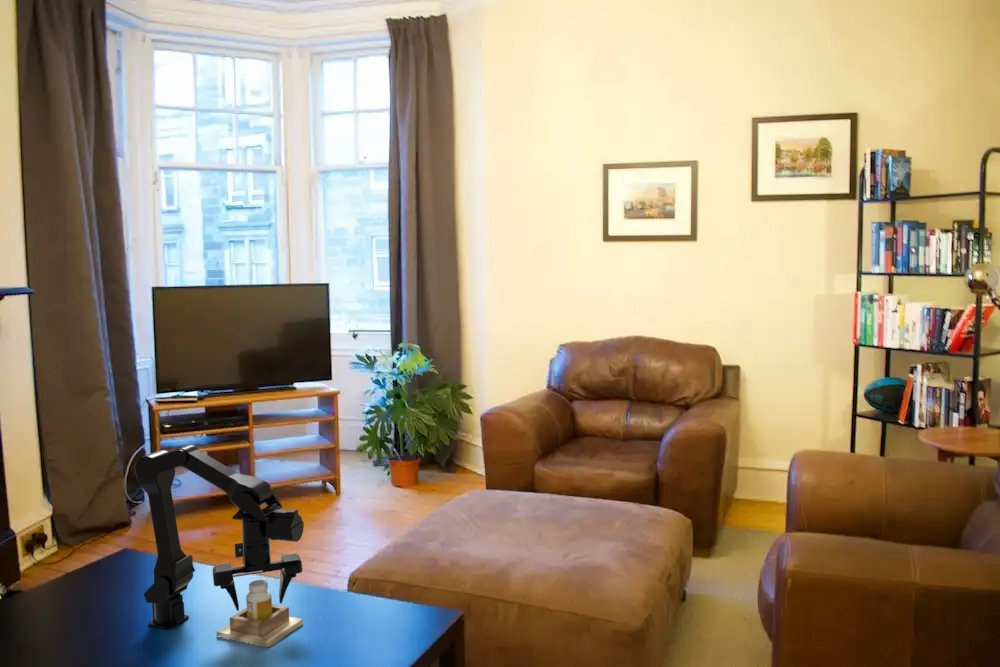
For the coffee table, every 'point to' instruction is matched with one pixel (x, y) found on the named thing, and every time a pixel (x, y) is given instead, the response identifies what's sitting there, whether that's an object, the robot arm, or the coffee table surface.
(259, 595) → the supplement bottle
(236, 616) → the collar board
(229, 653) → the coffee table surface
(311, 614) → the coffee table surface
